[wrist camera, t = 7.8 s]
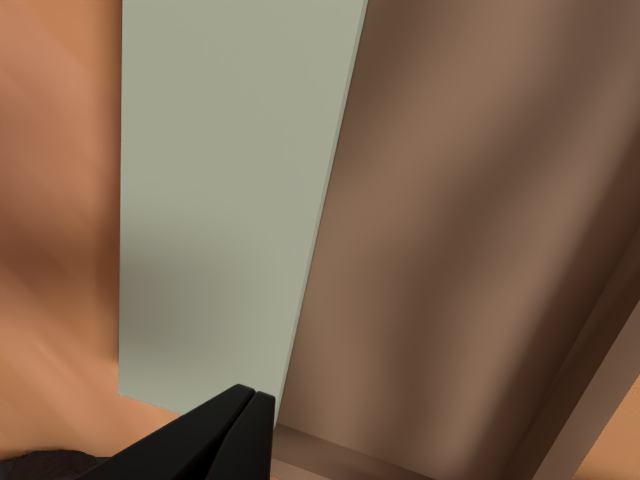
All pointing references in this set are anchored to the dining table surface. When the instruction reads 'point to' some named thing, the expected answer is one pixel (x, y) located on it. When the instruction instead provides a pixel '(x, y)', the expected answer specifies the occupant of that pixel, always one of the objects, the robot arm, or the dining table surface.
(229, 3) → the tailgate
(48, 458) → the dark slate chunk
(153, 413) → the dining table surface
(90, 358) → the dining table surface
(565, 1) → the brown shallow tray
